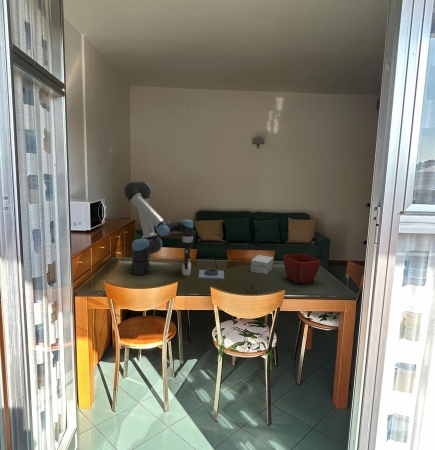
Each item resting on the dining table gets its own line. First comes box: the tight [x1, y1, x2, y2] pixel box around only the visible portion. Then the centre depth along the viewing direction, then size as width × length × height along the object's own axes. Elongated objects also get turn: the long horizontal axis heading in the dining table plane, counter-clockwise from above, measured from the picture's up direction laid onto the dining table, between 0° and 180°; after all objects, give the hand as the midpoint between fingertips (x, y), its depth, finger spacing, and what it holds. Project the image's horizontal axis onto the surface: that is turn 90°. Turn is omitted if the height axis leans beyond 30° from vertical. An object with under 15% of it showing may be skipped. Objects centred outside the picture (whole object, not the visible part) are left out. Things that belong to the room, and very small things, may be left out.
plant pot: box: [282, 253, 322, 284], centre depth 239 cm, size 19×19×17 cm
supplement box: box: [250, 254, 274, 275], centre depth 259 cm, size 17×13×9 cm
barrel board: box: [197, 267, 225, 280], centre depth 243 cm, size 18×16×4 cm
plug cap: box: [181, 261, 192, 276], centre depth 242 cm, size 6×6×8 cm
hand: (186, 270), depth 242 cm, fingers open, 13 cm apart
